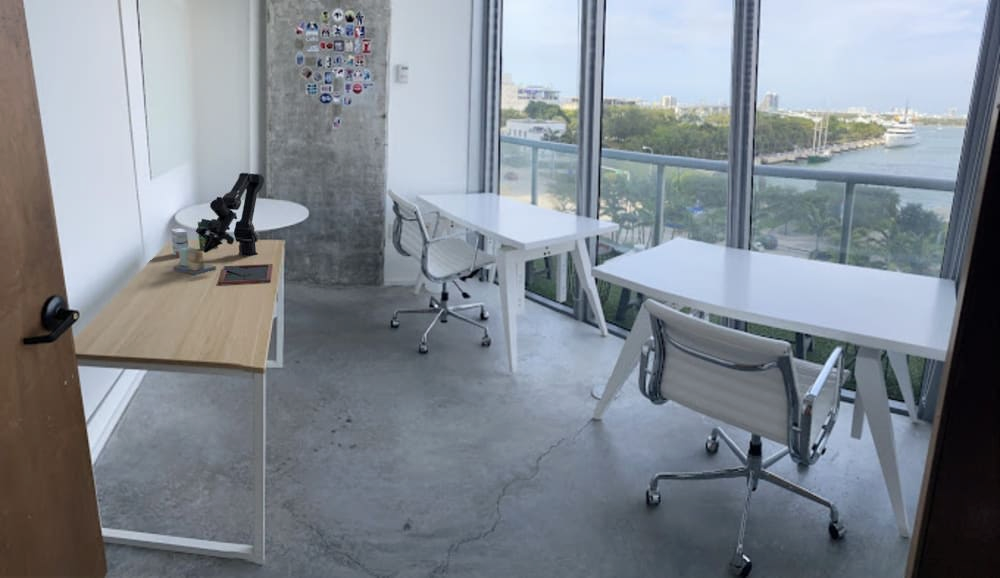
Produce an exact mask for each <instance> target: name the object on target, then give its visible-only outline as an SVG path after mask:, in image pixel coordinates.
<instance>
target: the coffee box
mask: <svg viewBox="0 0 1000 578" xmlns="http://www.w3.org/2000/svg"><path fill="white" fill-rule="evenodd" d="M200 224H201V221H197V228H198V227H202V228H206V229H207V227H204V226H200ZM207 230H208V229H207ZM208 231H209V232H210V230H208ZM198 244H199V249H201V250H204V245H205V239H204V238H203V237H202V236H200V235H199V234H198ZM218 248H219V245H218V246H216V247H215V248H214V249H218Z"/></svg>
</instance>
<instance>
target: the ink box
mask: <svg viewBox="0 0 1000 578" xmlns="http://www.w3.org/2000/svg"><path fill="white" fill-rule="evenodd" d="M170 232H171V233H170V234H171V244H172V251H173V255H174V256H175V257H177V258H180V257H179V249H181V248H185V247H189V239H188V238H189V237H188V236H189V235H188V231H186V230H185V229H183V228H171V229H170Z"/></svg>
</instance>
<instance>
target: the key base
mask: <svg viewBox="0 0 1000 578" xmlns="http://www.w3.org/2000/svg"><path fill="white" fill-rule="evenodd" d="M203 264H204V268H203V269H199V270H190V269H188V266H183V265H180V264H179V265H176V266H173V267H172V268H173V271H175V272H179V273H180V272H181V273H184V274H187V273H188V275H191V274H192V276H198V275H201V273H202V274H206V273H209V272H212V270H213V271H216V270H217V266H216V265H211V264H208V263H207V264H206V263H203ZM208 271H209V272H208ZM205 272H206V273H205ZM197 274H198V275H197Z"/></svg>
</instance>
